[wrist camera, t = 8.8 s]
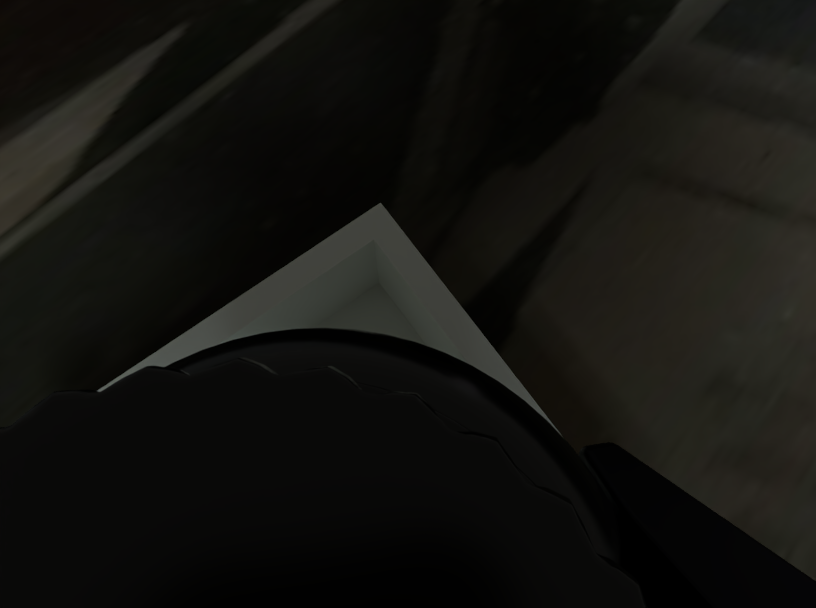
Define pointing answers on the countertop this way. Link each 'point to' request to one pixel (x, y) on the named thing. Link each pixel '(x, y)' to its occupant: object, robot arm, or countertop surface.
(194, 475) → the supplement bottle
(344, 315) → the box
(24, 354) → the countertop surface
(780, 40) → the countertop surface
